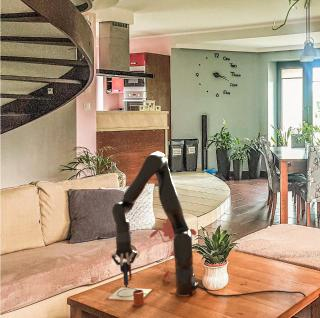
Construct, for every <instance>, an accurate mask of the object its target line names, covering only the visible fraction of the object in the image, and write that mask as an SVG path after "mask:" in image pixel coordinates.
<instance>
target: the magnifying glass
mask: <svg viewBox="0 0 320 318" xmlns="http://www.w3.org/2000/svg"><path fill="white" fill-rule="evenodd" d="M131 248H132V250H133V251H137V252H138V250H137V248H136V246H134V245H133V244H131ZM132 257H133V253H132V254H131V255H130V257H129V261H130V260H131V259H132ZM125 260H126V261H127V259H125ZM128 278H129V279H130V280H131V279H132V263H131V264H130V270H129V272H128Z"/></svg>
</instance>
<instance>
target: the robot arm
mask: <svg viewBox="0 0 320 318" xmlns="http://www.w3.org/2000/svg"><path fill="white" fill-rule="evenodd" d="M169 167H170V166H169V164H168V159H167V157H166V155H165V154H164V153H163V152H161V151H155V152H152V153H150V154H148V155H147V156H146V157H145V159H144V161H143V163H142V165H141V168H140V169H139V172H138V173H137V175H136V176H135V178H134V179H133V180H132V181H131V183H130V184H129V186H128V187H127V189H126V190H125V191H124V193H123V195H122V196H123V197H122V199H121V201H118V202H116V203H114V204H113V205H112V209H111V214H112V218H113V221H114V223H115V246H116V247H115V248H116V250H115V252H114V253H112V254H111V256H110V257H111V260H113V261H114V263H115V264H116V266H119V268H120V269H119V270H120V272H121V273H123V262H124V260H126V259H127V260H126V262H127V270H128V273H129V270H130V264H131V265H132V264H134V262H135V260H136V257H137V255H138V250H137V251H133V250H132V248H131V245H132V234H131V233H132V232H131V225H130V220H129V219H127V218H126V215H128V213H130V212H131V210H132V209H133V207H134V205H135V204H136V201H137V200H138V198H140V196H141V194H142V193H143V191H144V190H145V187H146V186H147V184H148V182H149V181H150V179H151V178H152V177H153V176H154V175H155V177H156V179H157V180H156V181H157V186H158V187H157V189H158V199H159V202H160V205H161V208H162V210H163V213H164V215H165V216H166V218H168V219H169V221H170V223H171V225H172V229H173V233H174V237H173V239H174V240H172V241H173V249H174V256H173V257H174V273H175V289H176V290H175V291H176V292H175V294H176V296H178V297H179V296H180V297H192V296H194V294H195V293H196V291H197V289H201V290H203V291H205V293H207V294H208V295H211V296H215V297H225V298H226V297H228V298H229V297H240V296H247V295H255V294H261V293H262V294H263V293H264V294H265V293H284V294H300V295H302V296H303V297H307V295H306V294H305V293H303V292H302V291H288V290H275V289H274V290H272V289H271V290H260V291H259V290H258V291H252V292H244V293H237V294H216V293H213V292H210V291H208V290H207V289H206V288H204V287H203V286H200V285H199V282H196V274H195V272H194V256H193V255H194V254H193V235H192V234H191V232H190V229H189V226H188V225H187V222H186V219H185V216H184V212H183V207H182V205H181V202H180V198H179V195H178V193H177V190H176V187H175V183H174V182H173V178H172V176H171V171H170V169H169ZM132 253H133V257H132V259H130V261H129V257H130V255H131V254H132ZM117 257H118V258H119V260H118V259H117Z"/></svg>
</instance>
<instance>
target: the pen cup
mask: <svg viewBox="0 0 320 318" xmlns="http://www.w3.org/2000/svg"><path fill="white" fill-rule="evenodd" d="M141 289H142V288H140V289H138V290H135V291H133V297H134V300H133V306H135V307H141V306H143V305H145V297H144V294H143V290H141Z"/></svg>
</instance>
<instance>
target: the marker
mask: <svg viewBox="0 0 320 318" xmlns="http://www.w3.org/2000/svg"><path fill="white" fill-rule="evenodd" d="M122 274H123V275H122V276H123V285H124V288H128V285H129V272H128V270H127V261H123V272H122Z"/></svg>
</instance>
